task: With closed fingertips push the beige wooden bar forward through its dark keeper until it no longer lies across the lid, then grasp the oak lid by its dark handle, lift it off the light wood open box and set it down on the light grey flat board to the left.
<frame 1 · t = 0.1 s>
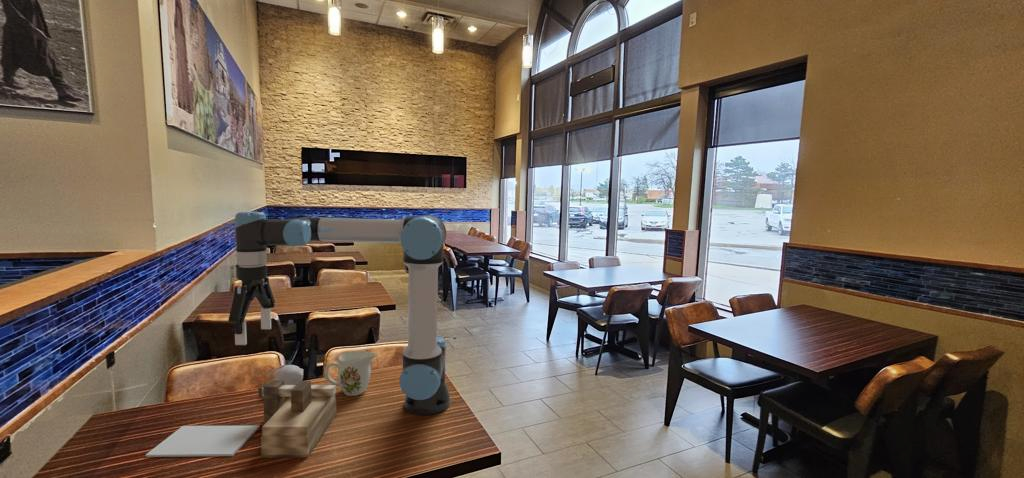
hand: (254, 336, 125), 28 cm above the table, fingers open, 13 cm apart
pitcher: (351, 392, 152), on the table
beige wooden bar: (298, 390, 130), point 10 cm above the table, slide at 0.0 cm
lid: (301, 415, 124), point 6 cm above the table, touching light wood open box
toy: (286, 388, 153), on the table
light wood open box: (302, 434, 125), on the table
light grey flat board: (206, 441, 120), on the table
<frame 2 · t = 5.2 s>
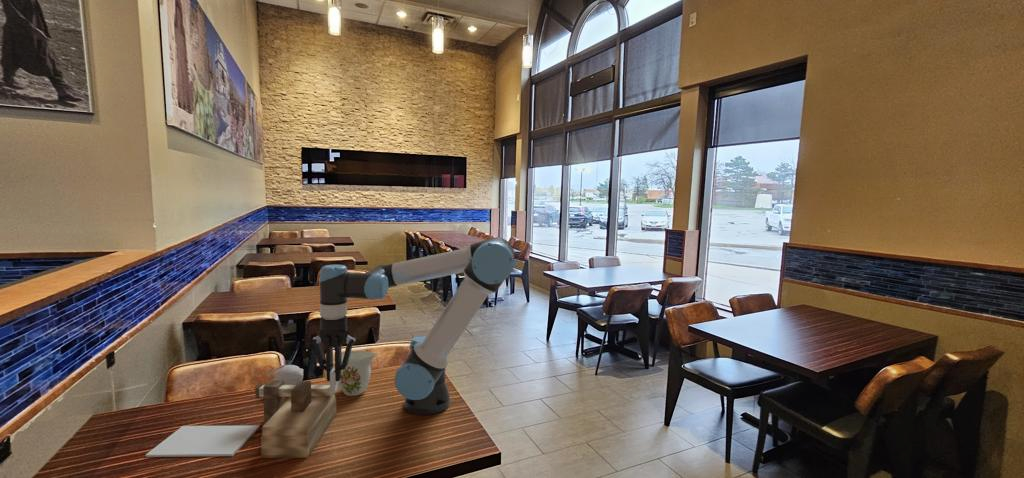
hand: (334, 390, 131), 10 cm above the table, fingers closed
beige wooden bar: (295, 390, 130), point 10 cm above the table, slide at 0.9 cm, touching gripper
everything else where it was.
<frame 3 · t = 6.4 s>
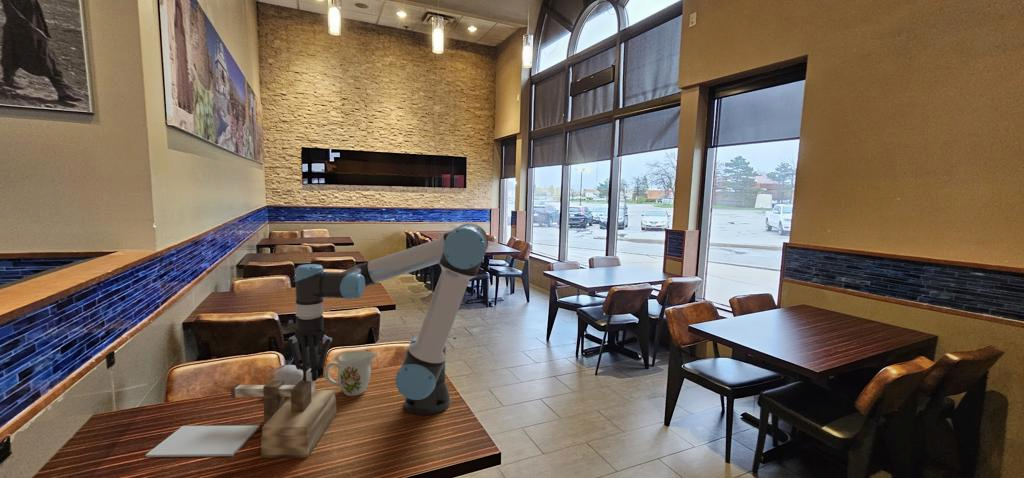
hand: (310, 390, 130), 10 cm above the table, fingers closed
beige wooden bar: (271, 390, 130), point 10 cm above the table, slide at 7.9 cm, touching gripper
everything else where it was.
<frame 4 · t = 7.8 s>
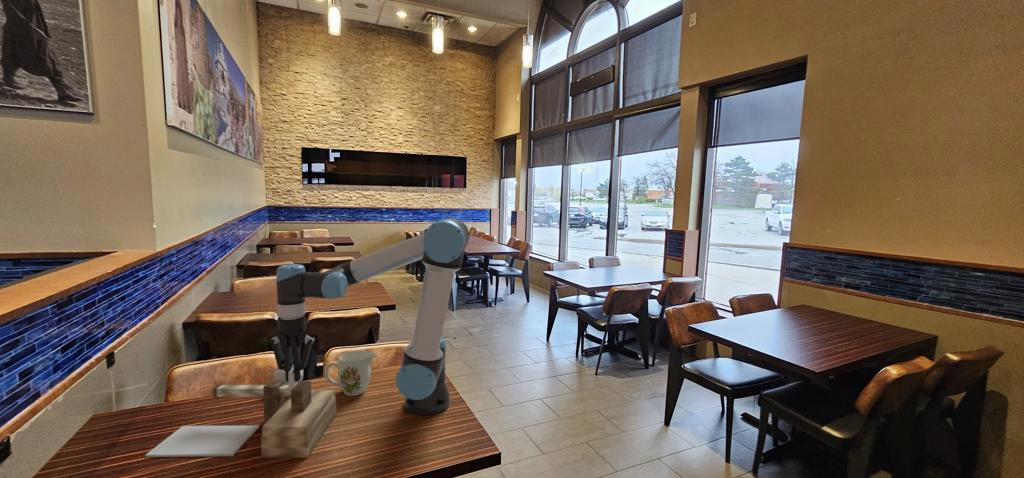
hand: (293, 390, 130), 10 cm above the table, fingers closed
beige wooden bar: (253, 390, 129), point 10 cm above the table, slide at 13.1 cm, touching gripper
everything else where it was.
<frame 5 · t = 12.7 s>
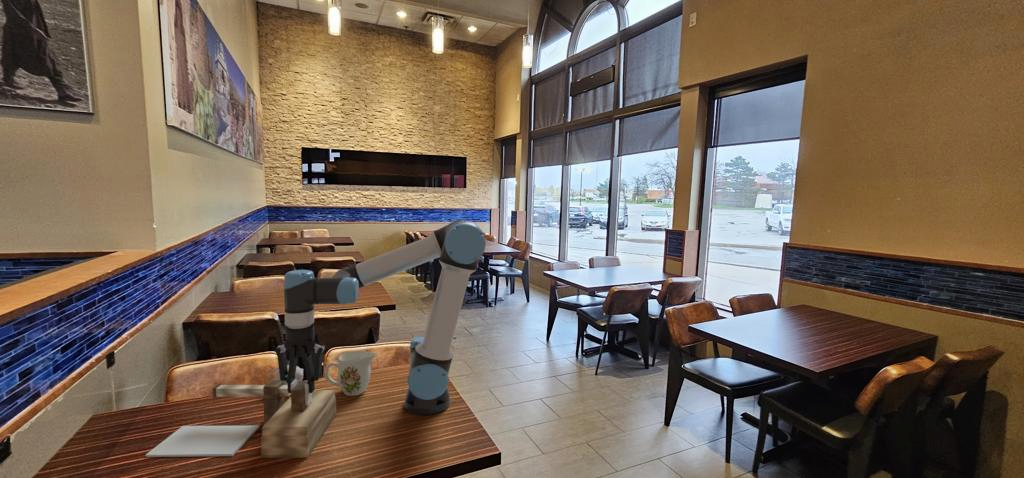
hand: (301, 402, 123), 10 cm above the table, fingers closed on lid, 3 cm apart
beige wooden bar: (253, 390, 129), point 10 cm above the table, slide at 13.2 cm
lid: (301, 415, 124), point 6 cm above the table, touching light wood open box, gripper
everything else where it was.
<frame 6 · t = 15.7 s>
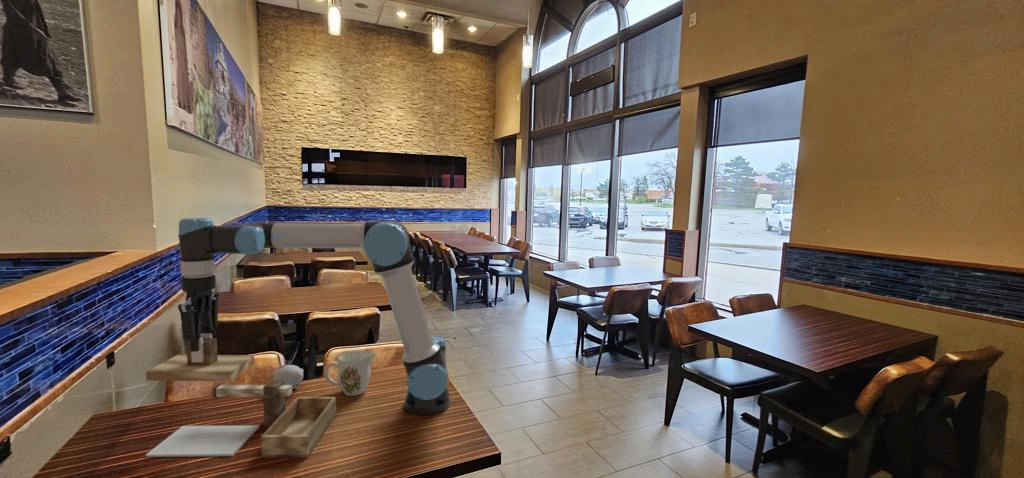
hand: (202, 358, 117), 24 cm above the table, fingers closed on lid, 3 cm apart
lid: (203, 371, 118), point 20 cm above the table, touching gripper
everything else where it was.
when the fingers open (6 cm above the table, at t = 19.2 s): lid drops 1 cm, resting on light grey flat board.
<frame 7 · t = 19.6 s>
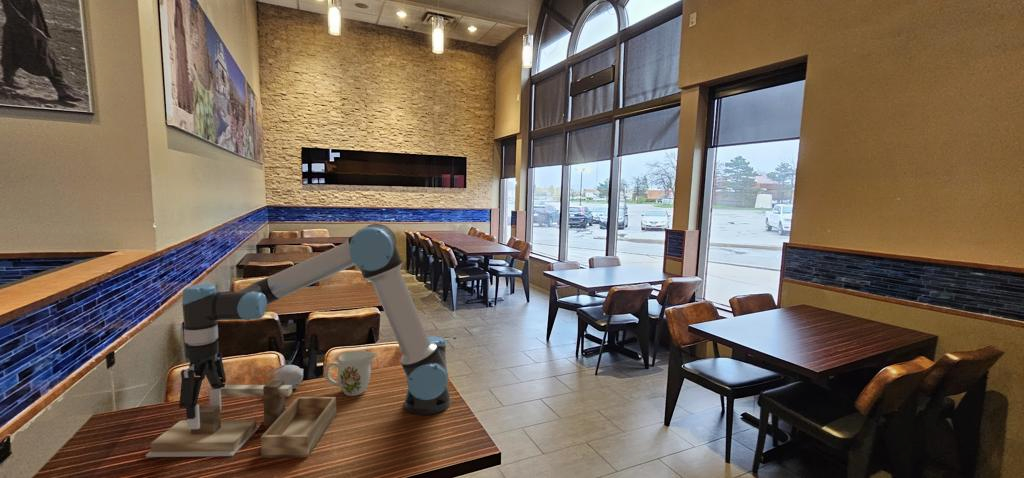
hand: (205, 418, 119), 7 cm above the table, fingers open, 9 cm apart
lid: (206, 439, 120), point 1 cm above the table, touching light grey flat board
everything else where it was.
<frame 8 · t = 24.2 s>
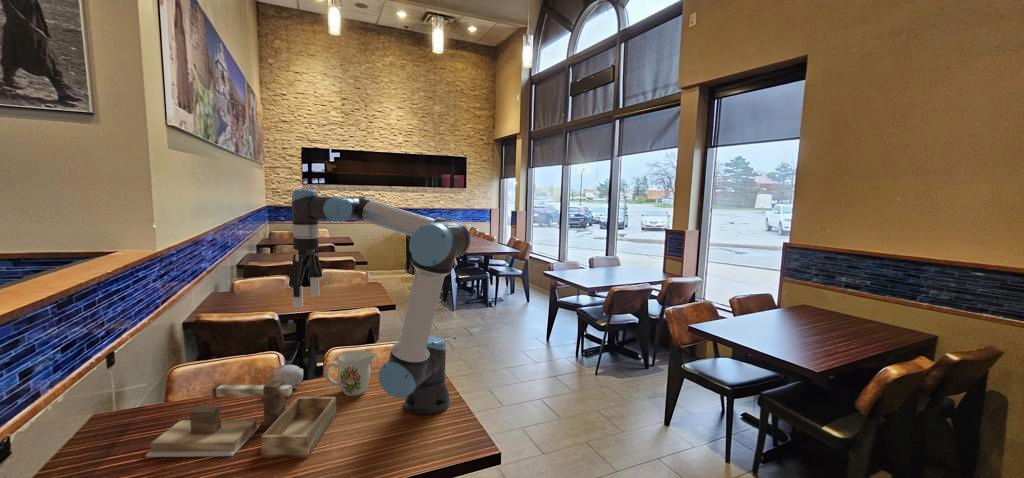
hand: (307, 301, 140), 35 cm above the table, fingers open, 13 cm apart
nothing on the table moved.
at the end: beige wooden bar slide at 13.2 cm; lid inside the target area (0.1 cm from its centre), point 0.6 cm above the table; lid tilted 0° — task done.
